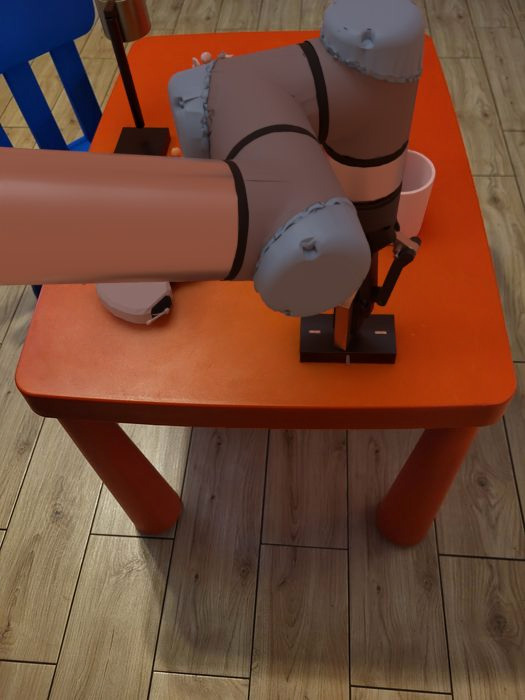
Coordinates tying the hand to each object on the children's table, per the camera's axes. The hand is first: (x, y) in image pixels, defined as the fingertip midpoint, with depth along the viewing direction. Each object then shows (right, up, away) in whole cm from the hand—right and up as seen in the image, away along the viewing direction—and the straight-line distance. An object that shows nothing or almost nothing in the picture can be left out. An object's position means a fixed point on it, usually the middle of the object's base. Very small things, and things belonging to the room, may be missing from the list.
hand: (348, 323), depth 76 cm
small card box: (0, -1, +2) cm, 2 cm away
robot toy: (-26, +5, +11) cm, 29 cm away
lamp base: (-31, +27, +25) cm, 49 cm away
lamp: (-30, +37, +27) cm, 55 cm away
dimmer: (0, -2, +4) cm, 4 cm away
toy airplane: (-20, +45, +36) cm, 62 cm away
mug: (+8, +15, +14) cm, 22 cm away
